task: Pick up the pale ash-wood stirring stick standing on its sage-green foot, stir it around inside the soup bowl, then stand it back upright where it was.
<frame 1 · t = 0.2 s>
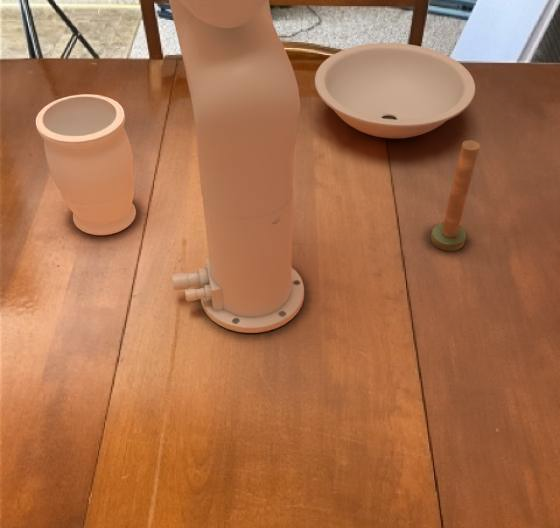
soup bowl: (388, 121, 107), on the table
stir stick: (447, 240, 89), on the table
jar: (105, 217, 93), on the table
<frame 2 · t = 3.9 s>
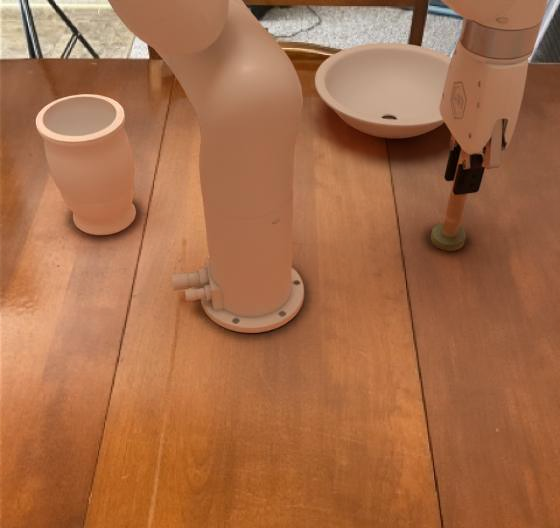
hand: (461, 184, 83), 9 cm above the table, tool pointing down, fingers closed on stir stick, 2 cm apart
stir stick: (447, 240, 89), on the table, touching gripper
everything else where it was.
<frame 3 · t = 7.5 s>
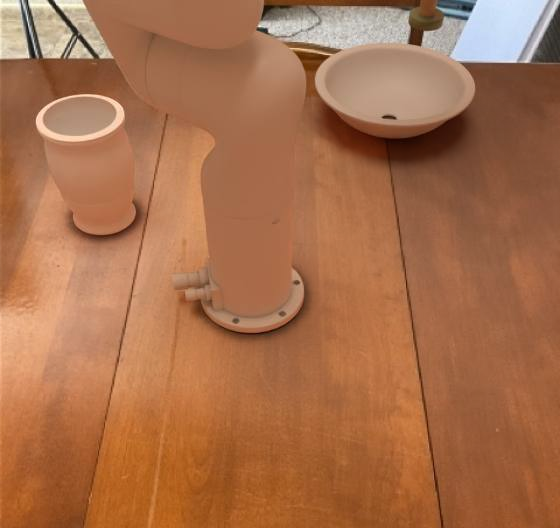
stir stick: (425, 23, 88), point 19 cm above the table, touching gripper
everything else where it was.
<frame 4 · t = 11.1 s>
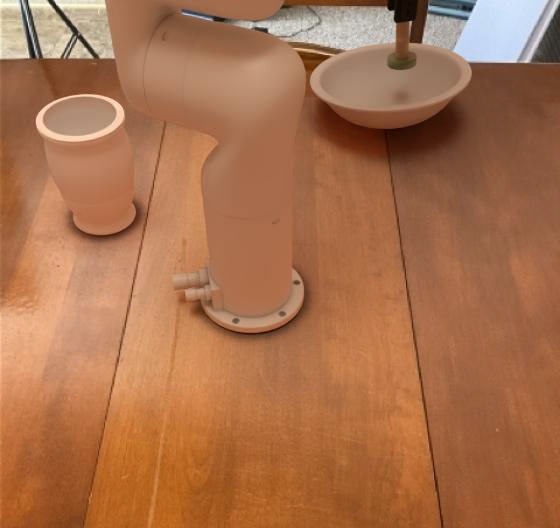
hand: (401, 13, 99), 14 cm above the table, tool pointing down, fingers closed on stir stick, 2 cm apart
soup bowl: (388, 117, 107), point 1 cm above the table, touching stir stick
stir stick: (401, 64, 104), point 7 cm above the table, tilted 8°, touching gripper, soup bowl
everything else where it was.
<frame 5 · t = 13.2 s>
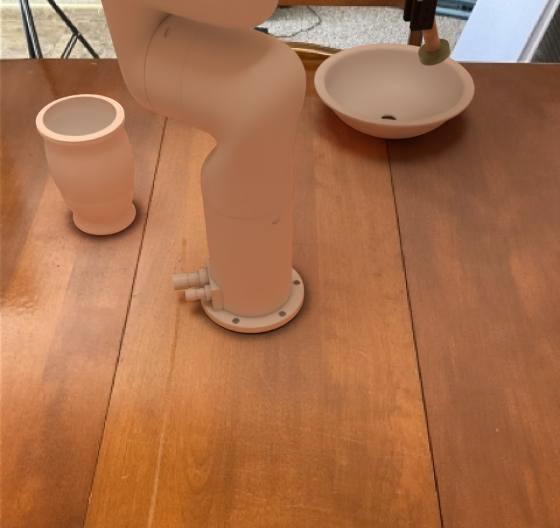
hand: (417, 23, 93), 16 cm above the table, tool pointing down, fingers closed on stir stick
soup bowl: (388, 122, 107), on the table
stir stick: (435, 55, 97), point 11 cm above the table, tilted 21°, touching gripper
everything else where it was.
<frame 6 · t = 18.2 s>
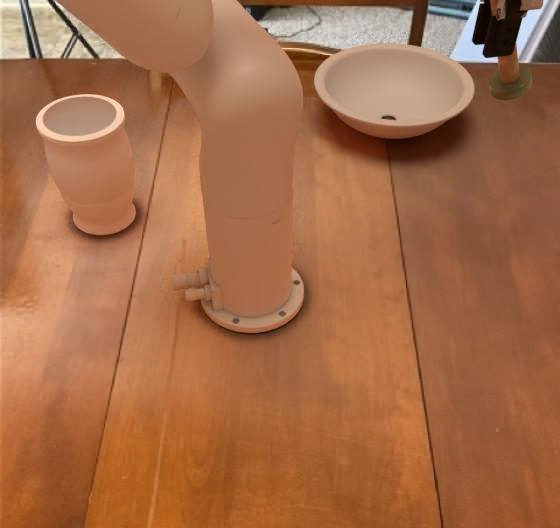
hand: (491, 47, 71), 25 cm above the table, tool pointing down, fingers closed on stir stick
stir stick: (511, 86, 75), point 20 cm above the table, tilted 22°, touching gripper
everything else where it was.
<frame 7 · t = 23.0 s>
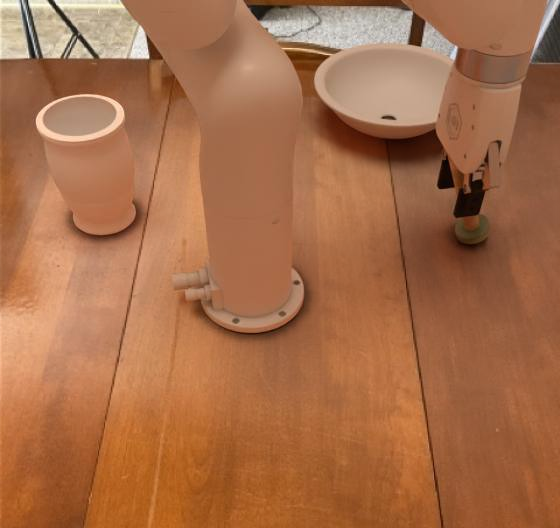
hand: (457, 199, 84), 7 cm above the table, tool pointing down, fingers open, 5 cm apart
stir stick: (473, 231, 89), point 1 cm above the table, tilted 22°
everything else where it was.
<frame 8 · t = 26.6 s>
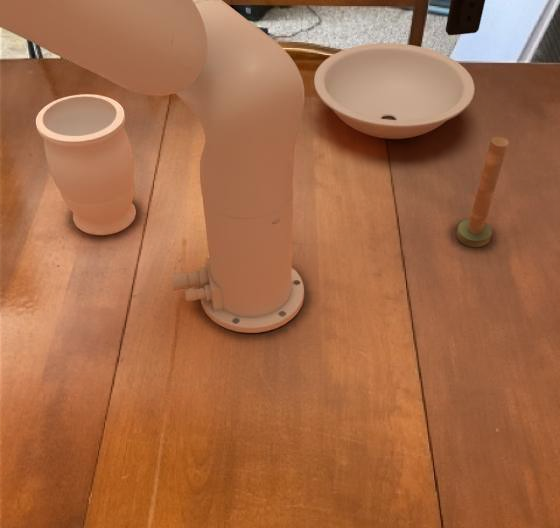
hand: (443, 10, 69), 28 cm above the table, tool pointing down, fingers open, 9 cm apart
stir stick: (472, 236, 90), on the table
everything else where it was.
at the end: stir stick tilted 0°; stir stick inside the target area (3.6 cm from its centre), on the table; soup bowl moved 0.2 cm from its start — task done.
